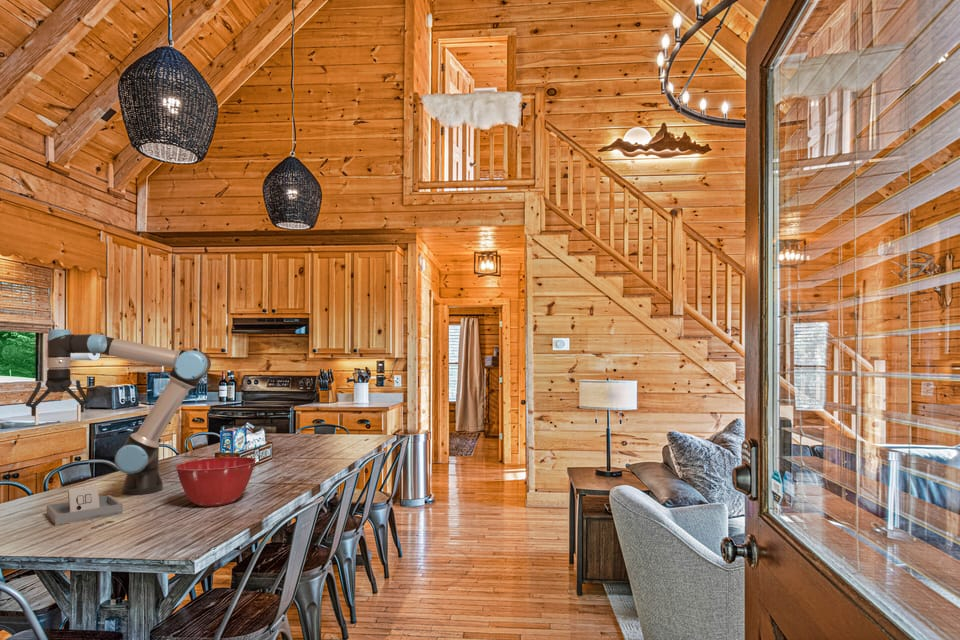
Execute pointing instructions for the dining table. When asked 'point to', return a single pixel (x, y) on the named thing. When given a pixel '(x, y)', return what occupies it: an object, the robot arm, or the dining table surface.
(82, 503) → the electrical switch
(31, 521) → the dining table surface
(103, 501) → the parts tray
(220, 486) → the mixing bowl
